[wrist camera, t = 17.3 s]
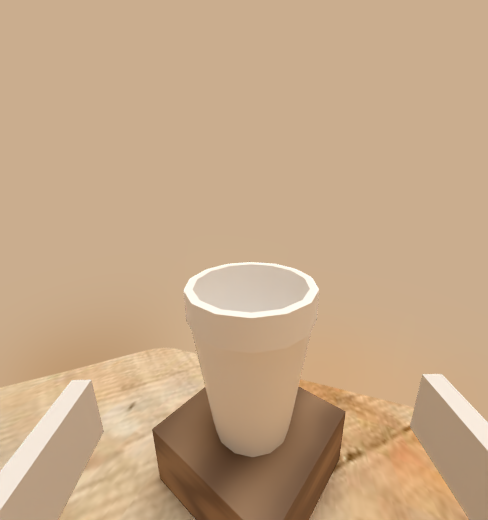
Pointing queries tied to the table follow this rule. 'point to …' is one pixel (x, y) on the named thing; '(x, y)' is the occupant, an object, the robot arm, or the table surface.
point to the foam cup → (251, 347)
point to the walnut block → (249, 463)
